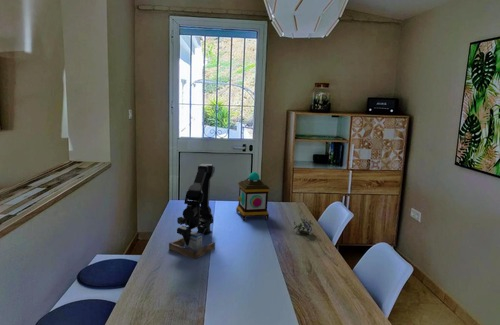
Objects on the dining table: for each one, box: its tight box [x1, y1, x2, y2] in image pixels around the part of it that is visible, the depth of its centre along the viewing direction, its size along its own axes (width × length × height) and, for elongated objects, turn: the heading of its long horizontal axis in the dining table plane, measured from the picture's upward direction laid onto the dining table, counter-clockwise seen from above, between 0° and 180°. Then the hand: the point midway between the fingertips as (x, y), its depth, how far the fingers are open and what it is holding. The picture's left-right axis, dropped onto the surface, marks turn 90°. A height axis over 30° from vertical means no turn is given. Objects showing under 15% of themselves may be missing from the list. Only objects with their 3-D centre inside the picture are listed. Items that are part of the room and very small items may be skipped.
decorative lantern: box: [235, 171, 271, 221], centre depth 238 cm, size 20×20×30 cm
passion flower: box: [293, 217, 314, 236], centre depth 214 cm, size 11×11×12 cm
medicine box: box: [184, 230, 203, 251], centre depth 184 cm, size 8×4×9 cm, turn 62°
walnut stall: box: [168, 237, 216, 260], centre depth 184 cm, size 16×17×4 cm
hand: (193, 242), depth 184 cm, fingers open, 9 cm apart
